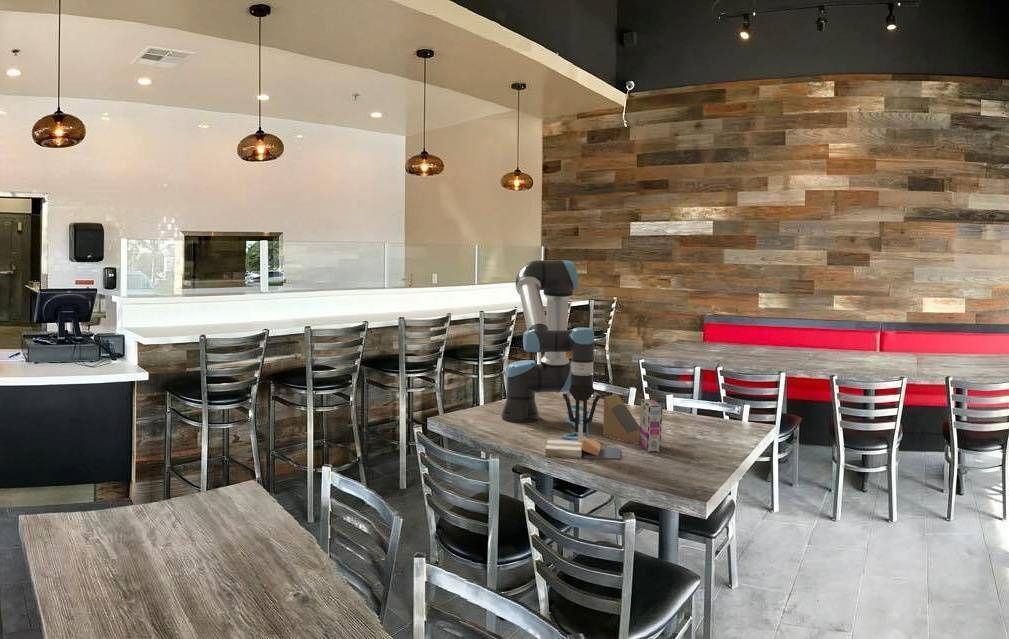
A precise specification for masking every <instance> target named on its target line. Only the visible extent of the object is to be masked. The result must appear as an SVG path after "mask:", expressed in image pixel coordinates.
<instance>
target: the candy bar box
mask: <svg viewBox="0 0 1009 639" xmlns="http://www.w3.org/2000/svg"><path fill="white" fill-rule="evenodd" d="M639 415H640V416H639V417H640V418H639V426H640V437H639V443H640V444H639V445H640V446H641V447H642V448H643V449H644V450H645V451H646V452H647V453H661V444H662V441H661V440H662V427H663V426H662V425H663V424H662V422H663V405H661V404H660V403H659V402H657V401H656V399H653V398H650V399H649V398H648V399H647V398H643V399H642V398H641V399H640V414H639Z"/></svg>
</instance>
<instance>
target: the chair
mask: <svg viewBox="0 0 1009 639" xmlns="http://www.w3.org/2000/svg"><path fill="white" fill-rule="evenodd" d="M571 408H572V412H573V414H574V413H575V410H576V404H575V405H571ZM581 410H582V411H583V405H582V406H581V405H579V411H581ZM566 414H567V419H565V420H564V422H565V423H569V424H571V425H572V426H573V427H575V423H574V422H571V421H570V418H569V413H568V409H566ZM581 415H582V413H581V412H579V422H583V417H581ZM589 415H590V410H589V409H587V418H589ZM574 418H575V416H574ZM575 436H576V437H575ZM584 437H586V438H589V439H590V437H589V423H587V426H586V433H584V434H583V438H584ZM563 438H565V439H564V440H569V439H570V440H578V433H577V432H575V431H574V432H571V433H567V434H564V435H562V439H563Z"/></svg>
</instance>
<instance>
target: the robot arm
mask: <svg viewBox="0 0 1009 639" xmlns="http://www.w3.org/2000/svg"><path fill="white" fill-rule="evenodd" d="M578 277H579V276H578V270H577V267H576V265H575V263H574V262H573V261H571V260H562V259H560V260H559V259H557V260H553V259H552V260H548V259H547V260H539V259H538V260H537V259H536V260H532V261H530V262H527V263H526V264H525V265H523V266H522V268H521V269H520V270H519V271H518V273H517V276H516V278H515V289H516V292H517V294H518V295H519V296H520V297H519V298H520V301H521V305H522V306H521V307H522V311H523V316H524V320H525V326H526V330H524V332H523V334H522V335H523V336H522V344H523V345H522V346H523V350H524V351H525V352H527V353H544V355H543V356H542V357H541V359H540V363H536V361H535V360H533V359H532V360H531V359H530V360H529V359H525V360H523V359H522V360H516V361H512V362H510V363H509V364H507V367H506V375H505V376H506V392H505V393H506V398H505V402H504V406H503V408H502V412H501V419H502V420H504V421H507V422H510V423H531V422H535V421H538V420H539V419H540V412H539V410H538V409H539V408H538V405H537V402H536V393H539V394H540V393H541V394H542V393H546V394H547V393H557V394H558V393H559V394H560V393H562V397H563V399H564V400H565V405H566V408H567V409H568V413H569V418H570V421H571V422H574V423H575V426H574V427H575V428H574V432H577V433H578V436H577V437H578V443H583V435H584V434H585V433H586V426H587V423H588V424H589V423H592V422H593V418H594V414H595V412H596V407H597V403H598V401H599V400H601V394H600V393H597V392H596V391H595V388H594V375H593V374H594V358H595V357H594V356H595V355H594V354H595V352H594V351H595V331H594V329H593V328H591V327H584V326H583V327H575V328H574V327H573V329H572V328H571V329H568V320H569V300H570V298H572V297H573V294H574V291H577V290H578V288H579V278H578ZM541 291H543V295H544V296H545V297H546V313H545V308H544V304H543V299H542V294H541ZM567 353H571V354H570V355H571V359H569V358H568V357H567ZM571 396H572V398H573V399H574V401H575V406H576V410H575V414H574V412H572V408H571V406H572V405H571V404H572V403H571V400H570V397H571ZM590 398H592V399H593V401H592V405H591V408H590V410H589V414H588V418H587V410H588V401H589V399H590ZM580 402H583V403H582V404H583V405H582V407H583V410H582V418H583V422H579V413H580V410H579V406H580ZM567 409H566V410H567ZM574 417H575V418H574Z"/></svg>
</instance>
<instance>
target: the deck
mask: <svg viewBox="0 0 1009 639" xmlns="http://www.w3.org/2000/svg"><path fill="white" fill-rule="evenodd" d="M581 445H582V443H578V440H569V439H558V438H548V439H547V442H546V445H545V449H544V450H545V452H544V453H545V454H544V455H545V457H554V456H561V457H560V458H573V457H574V458H576V459H577V458H578V459H581V458H582V455H583V454H582V452H583V450H582V449H581Z"/></svg>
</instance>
